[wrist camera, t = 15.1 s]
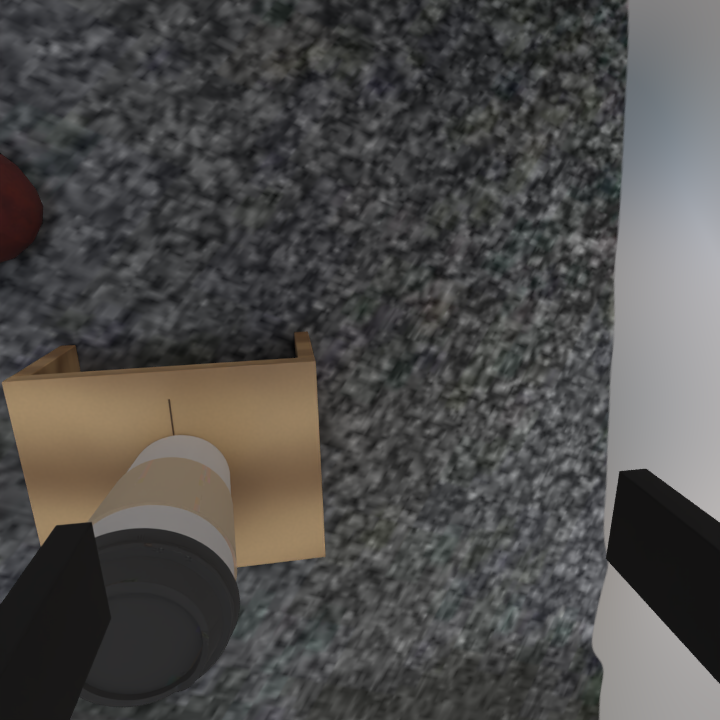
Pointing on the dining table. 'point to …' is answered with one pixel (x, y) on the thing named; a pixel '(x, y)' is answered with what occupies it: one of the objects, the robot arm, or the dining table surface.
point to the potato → (17, 211)
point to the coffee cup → (165, 573)
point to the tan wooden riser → (169, 418)
